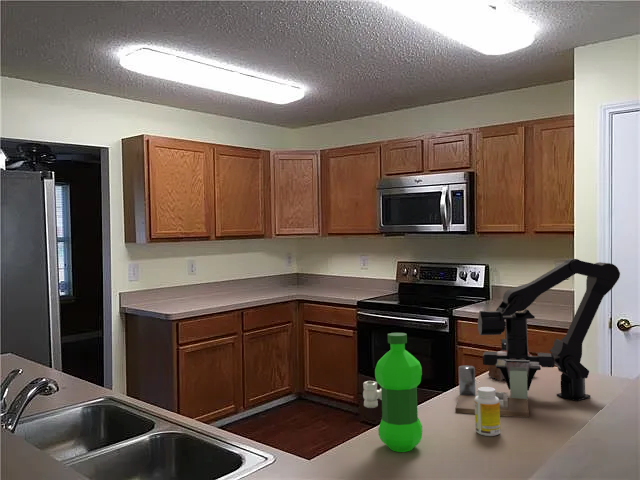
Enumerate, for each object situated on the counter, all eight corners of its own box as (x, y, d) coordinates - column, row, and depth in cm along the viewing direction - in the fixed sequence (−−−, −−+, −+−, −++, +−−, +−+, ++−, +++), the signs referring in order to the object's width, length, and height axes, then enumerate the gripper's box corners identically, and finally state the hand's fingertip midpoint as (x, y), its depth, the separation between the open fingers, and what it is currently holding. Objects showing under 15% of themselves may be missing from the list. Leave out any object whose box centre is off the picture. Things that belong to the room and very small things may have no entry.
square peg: (527, 395, 155) (526, 367, 155) (527, 400, 151) (526, 371, 151) (510, 395, 157) (509, 367, 157) (510, 399, 152) (509, 370, 152)
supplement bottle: (505, 434, 126) (504, 389, 126) (487, 438, 124) (485, 393, 124) (488, 427, 131) (487, 384, 131) (470, 431, 129) (469, 388, 129)
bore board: (527, 403, 148) (526, 391, 148) (528, 417, 137) (528, 404, 137) (459, 399, 154) (458, 387, 154) (455, 412, 143) (454, 400, 143)
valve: (364, 410, 148) (408, 408, 148) (363, 385, 148) (407, 384, 148) (362, 403, 154) (404, 401, 154) (361, 379, 154) (404, 378, 154)
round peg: (467, 391, 161) (466, 364, 161) (479, 395, 158) (478, 367, 157) (456, 394, 159) (455, 367, 159) (467, 398, 155) (466, 369, 155)
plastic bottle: (434, 446, 120) (430, 333, 120) (403, 460, 113) (399, 340, 113) (399, 435, 128) (395, 328, 128) (368, 448, 121) (364, 335, 121)
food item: (518, 371, 183) (517, 342, 183) (536, 376, 176) (535, 346, 176) (486, 376, 178) (485, 346, 178) (503, 382, 170) (502, 350, 170)
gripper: (550, 330, 158) (552, 384, 158) (483, 329, 164) (485, 380, 164) (553, 337, 148) (555, 394, 148) (481, 335, 154) (483, 390, 154)
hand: (518, 389), depth 154 cm, fingers closed on square peg, 4 cm apart
